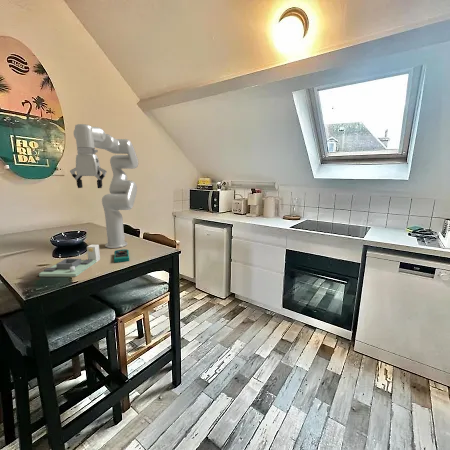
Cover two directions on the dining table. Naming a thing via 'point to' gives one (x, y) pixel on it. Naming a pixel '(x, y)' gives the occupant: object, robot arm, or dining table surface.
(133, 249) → the dining table surface
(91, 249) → the plug
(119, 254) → the digital multimeter
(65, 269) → the board
